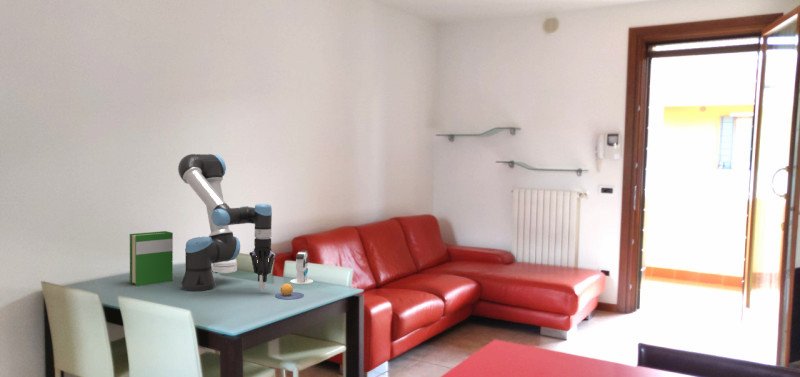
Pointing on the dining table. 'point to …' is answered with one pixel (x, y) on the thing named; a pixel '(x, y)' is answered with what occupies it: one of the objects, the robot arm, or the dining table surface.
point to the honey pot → (225, 266)
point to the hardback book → (151, 258)
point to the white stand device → (301, 269)
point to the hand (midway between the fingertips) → (262, 288)
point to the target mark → (289, 296)
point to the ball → (286, 289)
